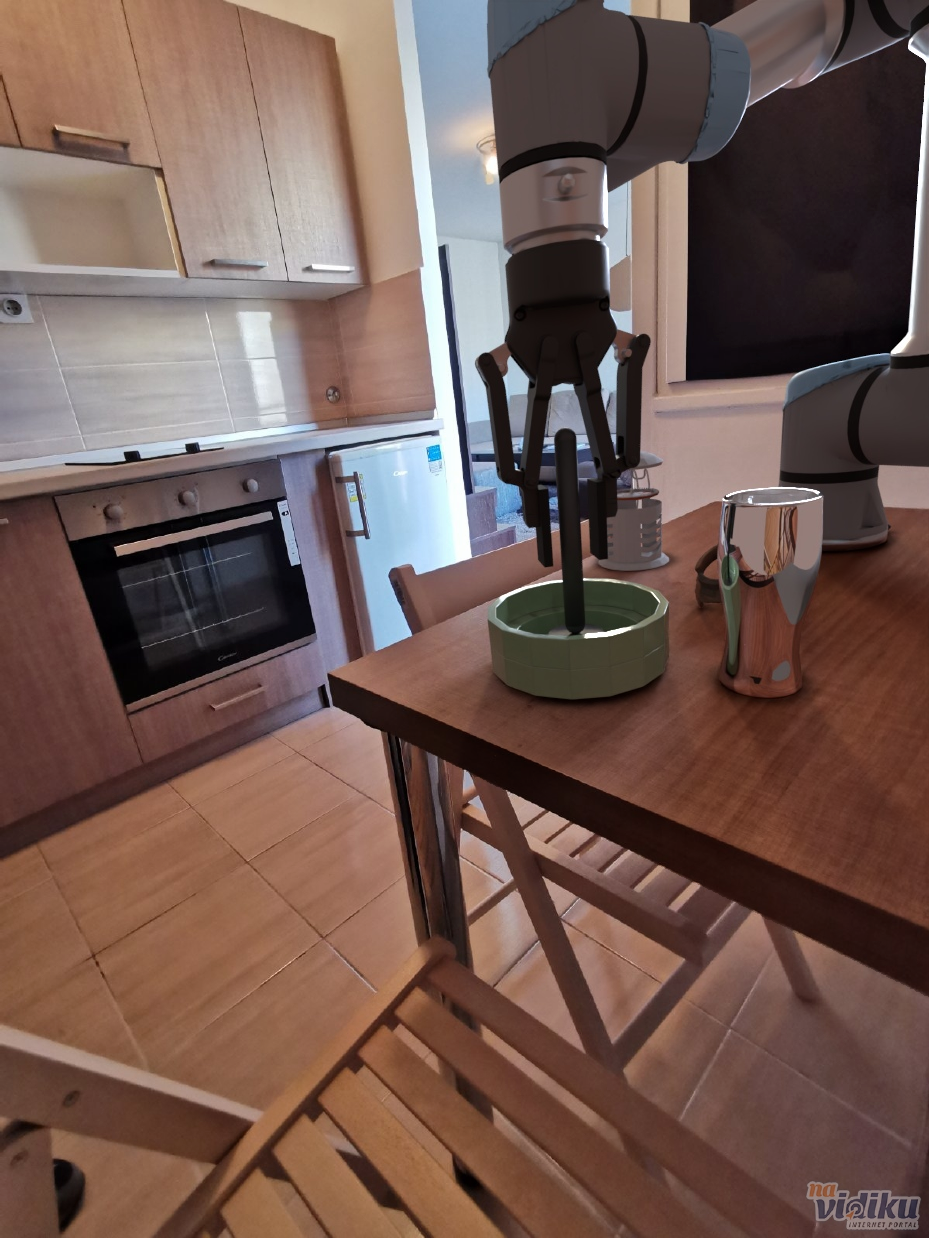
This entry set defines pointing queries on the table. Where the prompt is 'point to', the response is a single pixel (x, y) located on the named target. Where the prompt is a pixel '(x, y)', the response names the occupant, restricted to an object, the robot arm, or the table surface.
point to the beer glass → (767, 585)
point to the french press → (636, 525)
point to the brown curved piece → (707, 580)
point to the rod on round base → (570, 536)
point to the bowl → (580, 639)
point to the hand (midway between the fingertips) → (572, 558)
